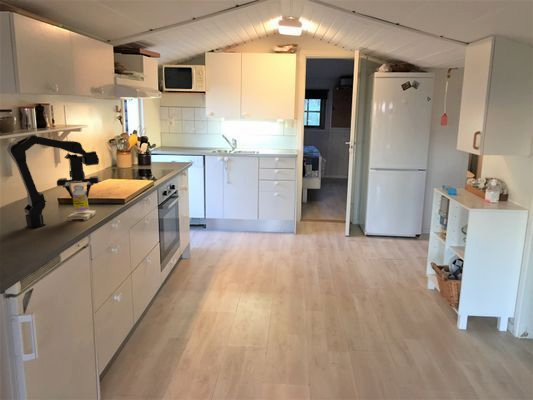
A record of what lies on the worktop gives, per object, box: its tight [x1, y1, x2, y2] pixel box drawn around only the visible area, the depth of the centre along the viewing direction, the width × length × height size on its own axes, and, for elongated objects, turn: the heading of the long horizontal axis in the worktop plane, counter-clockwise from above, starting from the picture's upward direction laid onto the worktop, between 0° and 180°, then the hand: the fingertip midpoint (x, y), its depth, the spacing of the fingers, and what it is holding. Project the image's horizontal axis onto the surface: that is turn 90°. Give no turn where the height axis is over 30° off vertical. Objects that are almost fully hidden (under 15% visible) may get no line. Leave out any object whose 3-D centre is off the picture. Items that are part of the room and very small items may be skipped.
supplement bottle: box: [72, 184, 90, 212], centre depth 218 cm, size 7×7×13 cm
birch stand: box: [66, 209, 98, 222], centre depth 220 cm, size 12×10×2 cm
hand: (80, 198), depth 218 cm, fingers closed on supplement bottle, 6 cm apart
